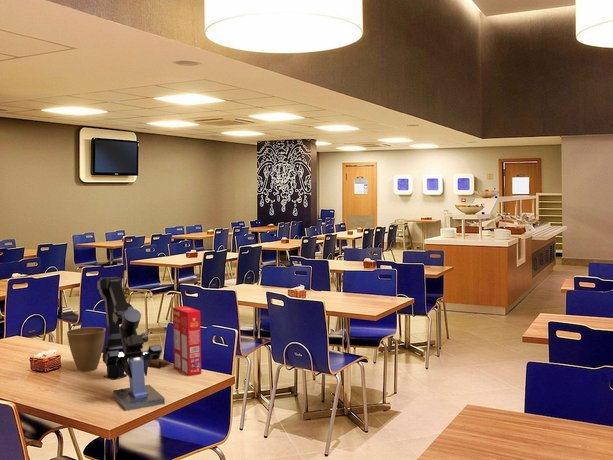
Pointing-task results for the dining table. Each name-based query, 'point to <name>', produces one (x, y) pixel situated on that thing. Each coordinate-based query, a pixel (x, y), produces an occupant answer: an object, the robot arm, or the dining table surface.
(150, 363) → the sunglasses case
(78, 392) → the dining table surface
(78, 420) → the dining table surface
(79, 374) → the dining table surface
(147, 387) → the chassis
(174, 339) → the food packaging
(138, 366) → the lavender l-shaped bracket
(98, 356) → the plant pot
